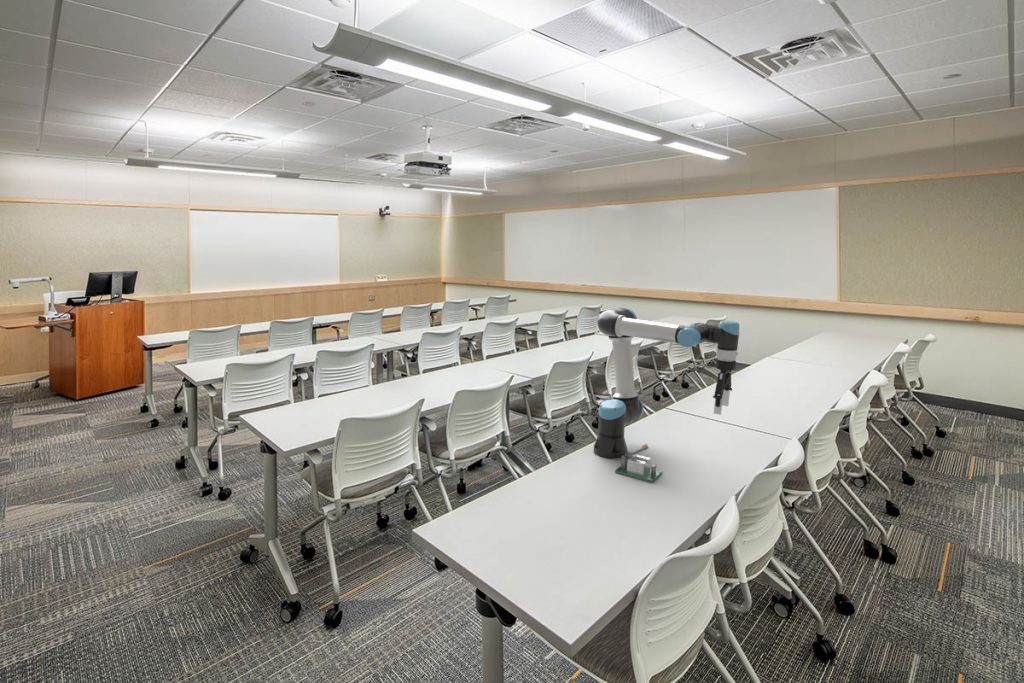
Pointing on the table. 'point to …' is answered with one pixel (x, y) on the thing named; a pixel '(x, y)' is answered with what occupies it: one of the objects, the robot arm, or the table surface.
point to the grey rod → (637, 451)
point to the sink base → (638, 468)
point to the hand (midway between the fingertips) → (721, 409)
